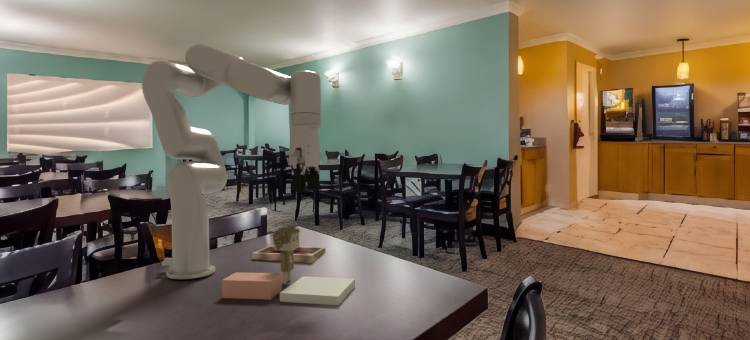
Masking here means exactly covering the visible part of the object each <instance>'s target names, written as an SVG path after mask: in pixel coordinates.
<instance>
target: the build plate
mask: <svg viewBox="0 0 750 340" xmlns="http://www.w3.org/2000/svg"><path fill="white" fill-rule="evenodd" d="M355 288H356V279H355V278H347V277H346V278H343V277H342V278H341V277H323V276H308V275H306V276H304V275H303V276H301V277H300V278H299V279H297V280H296V281H294V282H293V283H292V284H290V285H288V286H287V287H286V288H284V289H282V290H281V291H280V292H279V302H282V303H283V302H284V303H297V304H310V305H311V304H312V305H313V304H314V305H324V306H325V305H328V306H340V305H341V303H342V302H343V301H344V299H346V298H347V297H348V295H349V294H350V293H351V292H353V290H354V289H355Z"/></svg>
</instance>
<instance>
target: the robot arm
mask: <svg viewBox="0 0 750 340" xmlns="http://www.w3.org/2000/svg"><path fill="white" fill-rule="evenodd" d="M184 59H185V63H186V65H183V64H180V63H176V62H173V61H167V60H156V61H153V62H151V63H149V64H148V65H147V67H145V69H144V72H143V75H142V79H141V90H142V94H143V97H144V100H145V103H146V105H147V106H148V108H149V111H150V113H151V115H152V118H153V121H154V127H155V128H156V132H157V134H158V138H159V140H160V141H159V142H160V144H161V147H162V150H163V152H164V154H165V155H166V156H167V157H168V158H170V159H175V160H185V161H180V162H177V163H175V164H173V165H172V166H170V168H169V169H168V171H167V174H166V185H167V189H168V193H169V198H170V207H171V208H170V209H171V210H170V211H171V212H170V213H171V249H172V251H171V257H164V259H163V261H162V262H161V266H162V267H168V270H167V271H166V272H165V273H166V275H165V276H166V277H167V278H169V279H172V280H192V279H197V278H198V279H199V278H203V277H207V276H210V275H212V274H214V273H215V272H216V266H215V265H212V264H210V228H209V227H210V225H209V224H210V223H209V221H210V219H209V207H208V204H207V201H206V199H205V197H204V195H207V194H213V193H214V194H216V193H219V192H221V191H222V190H223V189H224V188H225V187H226V184H227V182H228V173H227V169H226V166H225V162H224V160H223V156H222V153H221V150H220V147H219V144H218V141H217V139H216V137H215V136H214V134H213V133H211V131H209V130H208V129H205V128H202V127H194V126H192V125H191V124H190V122H189V119H188V117H187V113H186V110H185V109H184V106H183V105H182V104H181V103H180V102H179V100H178V99H177V98H176V96H175V95H180V96H184V97H190V98H191V97H192V98H198V97H201V96H204V95H206V94H209V93H210V92H212V91H213V90H216V89H217V88H218V87H220V86H222V85H223V86H226V87H228V88H230V89H234V90H235V91H237V92H240V93H243V94H245V95H248V96H251V97H252V98H255V99H258V100H261V101H264V102H265V101H266V102H270V103H274V104H277V105H282V106H283V105H284V106H286V105H287V106H289V105H290V106H289V107H290V117H289V118H290V135H289V136H290V137H289V150H288V151H289V153H288V165H289V166H290V168H291V176H292V192H293V193H305V192H306V191H307V190H319V189H320V166H321V165H320V164H321V147H320V146H321V143H320V131H319V129H321V128H322V112H321V111H322V107H321V106H322V105H321V104H322V102H321V99H322V97H321V86H322V85H321V77H320V75H319V73H317V72H315V71H311V70H297V71H294V72H292V73H291V74H290V76H289V75H287V74H283V73H280V72H278V71H275V70H272V69H269V68H266V67H263V66H261V65H257V64H255V63H252V62H250V61H246V60H245V59H244V58H243V57H241V56H239V55H236V54H233V53H230V52H227V51H225V50H222V49H219V48H217V47H214V46H211V45H209V44H203V43H202V44H201V43H197V44H194V45H192V46H190V47H189V48H188V49H187V51H186V53H185V57H184ZM186 160H188V161H186ZM189 160H192V161H189ZM306 170H307V174H305V173H306Z"/></svg>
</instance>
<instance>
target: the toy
mask: <svg viewBox="0 0 750 340" xmlns="http://www.w3.org/2000/svg"><path fill="white" fill-rule="evenodd" d="M300 233H301V232H300V228H296V226H295V225H293V226H290V225H288V226H286V227H285V226H283V227H279V228H278V229H277V230H275V231H273V233H272V241H273V246H275V250H277V251H281V253H280V255H281V261H280V272H281V273H282V285H287V284H288V282H290V281H291V280H292V277H291V276H292V274H291V271H293V270H294V268H295V267H294V265H295V262H294V256H293V250H295V249H297V248H299V247H300Z"/></svg>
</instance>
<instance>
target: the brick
mask: <svg viewBox="0 0 750 340" xmlns="http://www.w3.org/2000/svg"><path fill="white" fill-rule="evenodd" d="M282 285H283V281H282V272H281V273H280V272H279V273H277V272H276V273H275V272H274V273H273V272H239V271H238V272H237V271H236V272H234V273H232V274H230V275H229V276H226V277H225V278H223V279H222V280H221V294H222V295H221V297H222V299H243V300H244V299H245V300H246V299H247V300H272V299H274V297H276V296H277V295H278V294H280V292H282V291H283V289H282Z"/></svg>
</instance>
